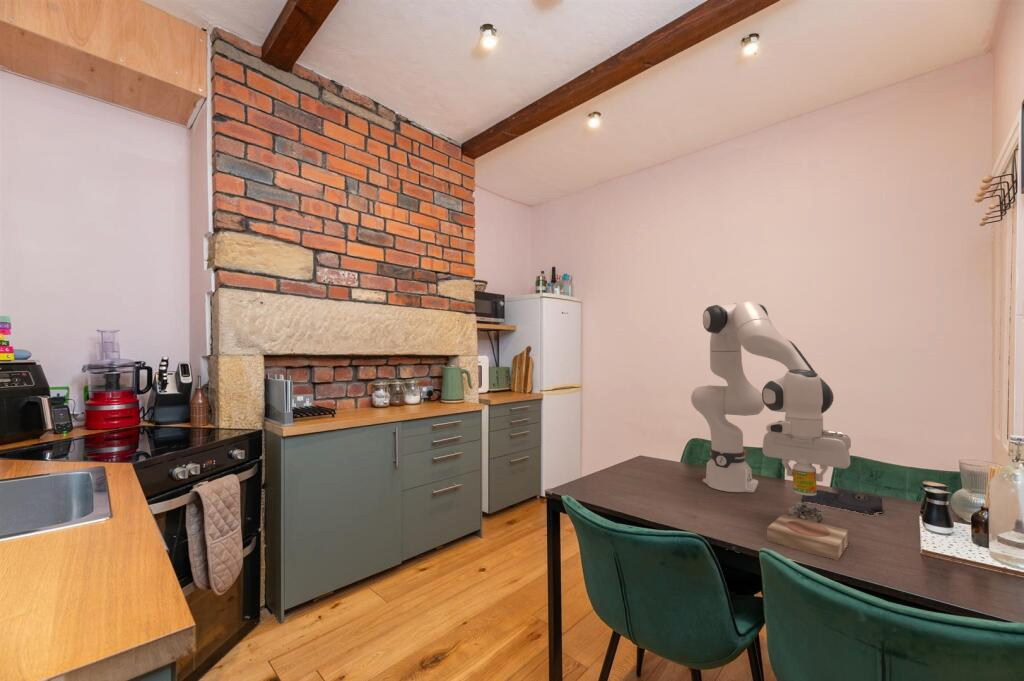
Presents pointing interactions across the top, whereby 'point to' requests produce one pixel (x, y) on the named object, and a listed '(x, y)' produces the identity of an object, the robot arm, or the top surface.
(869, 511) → the dark slate chunk
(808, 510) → the grey gravel pile
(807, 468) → the supplement bottle
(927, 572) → the top surface
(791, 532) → the birch base
